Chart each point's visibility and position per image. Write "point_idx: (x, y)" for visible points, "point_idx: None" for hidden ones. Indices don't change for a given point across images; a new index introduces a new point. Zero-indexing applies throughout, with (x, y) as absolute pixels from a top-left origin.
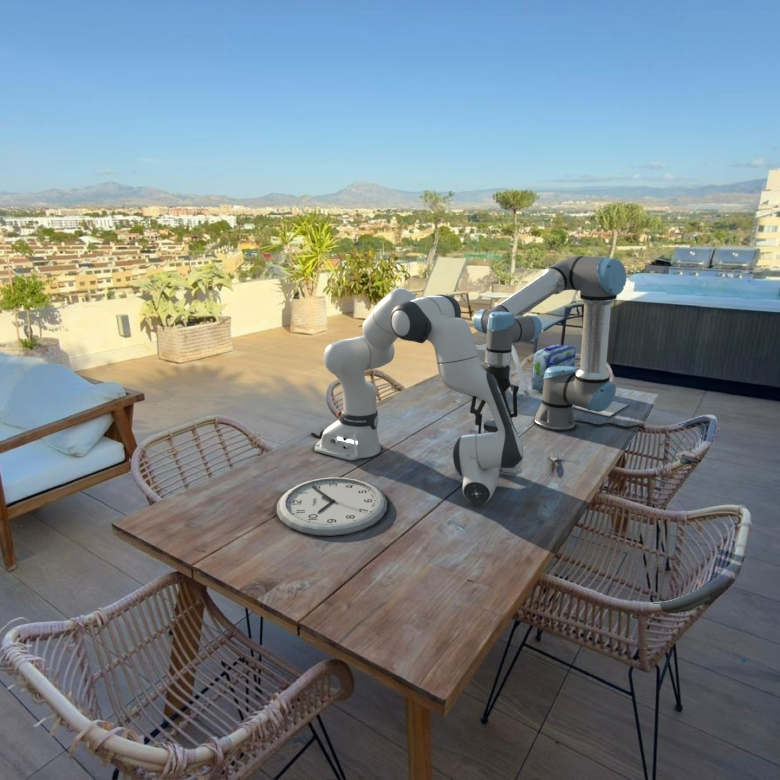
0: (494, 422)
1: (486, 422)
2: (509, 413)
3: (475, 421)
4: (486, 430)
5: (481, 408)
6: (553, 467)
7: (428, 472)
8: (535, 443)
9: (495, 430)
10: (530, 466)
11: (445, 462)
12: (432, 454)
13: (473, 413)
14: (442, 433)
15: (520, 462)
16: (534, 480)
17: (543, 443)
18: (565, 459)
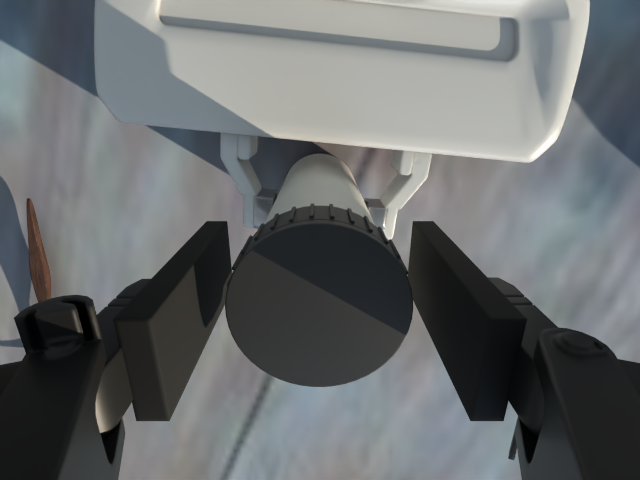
0: (302, 342)
1: (388, 323)
2: (20, 388)
3: (523, 298)
4: (376, 227)
5: (594, 433)
6: (31, 251)
7: (623, 72)
8: (151, 458)
9: (285, 214)
10: (141, 259)
11: (523, 209)
12: (577, 277)
13: (635, 363)
14: (513, 467)
15: (95, 5)
16: (101, 117)
17: (122, 464)
18: (15, 355)
